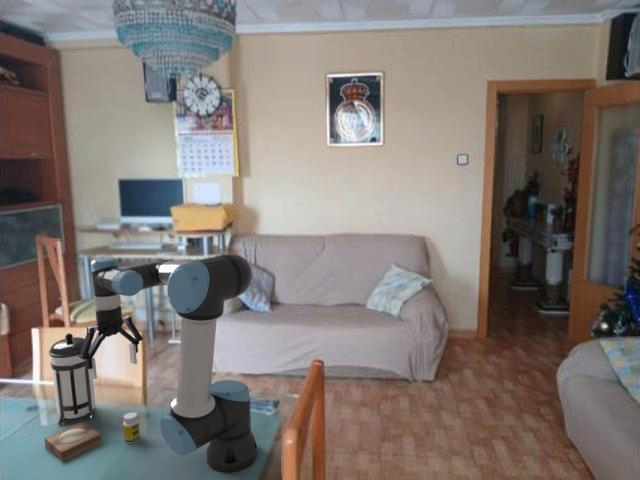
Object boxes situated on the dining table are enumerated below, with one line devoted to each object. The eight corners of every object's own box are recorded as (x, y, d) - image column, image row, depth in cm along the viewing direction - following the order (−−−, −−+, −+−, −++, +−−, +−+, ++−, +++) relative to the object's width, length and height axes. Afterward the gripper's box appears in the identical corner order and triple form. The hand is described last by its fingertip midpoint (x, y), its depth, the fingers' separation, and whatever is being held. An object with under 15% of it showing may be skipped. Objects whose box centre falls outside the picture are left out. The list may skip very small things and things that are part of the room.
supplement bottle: (134, 444, 154) (132, 420, 152) (121, 443, 155) (119, 418, 153) (143, 436, 158) (141, 412, 157) (129, 434, 159) (127, 410, 158)
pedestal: (101, 442, 155) (100, 433, 154) (62, 461, 146) (61, 451, 145) (83, 429, 162) (82, 421, 162) (45, 446, 153) (44, 437, 153)
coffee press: (40, 422, 167) (30, 339, 162) (79, 401, 182) (71, 323, 176) (77, 433, 160) (68, 346, 155) (115, 409, 175) (107, 330, 170)
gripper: (137, 295, 167) (142, 354, 170) (62, 314, 148) (69, 380, 151) (150, 299, 162) (155, 360, 165) (73, 319, 143) (81, 387, 146)
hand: (114, 370), depth 158 cm, fingers open, 13 cm apart
